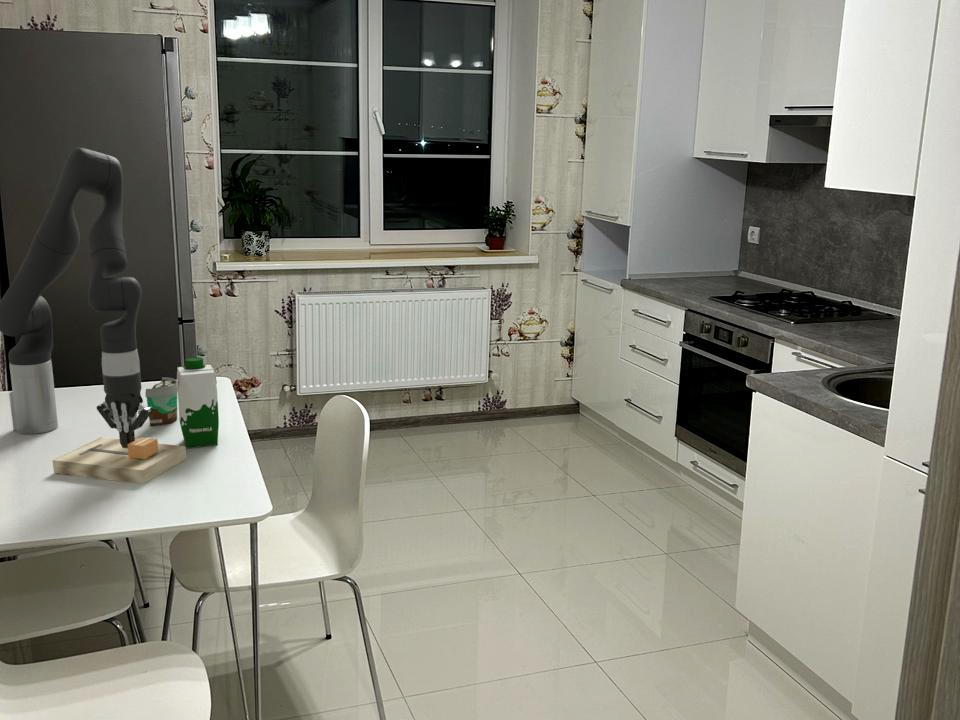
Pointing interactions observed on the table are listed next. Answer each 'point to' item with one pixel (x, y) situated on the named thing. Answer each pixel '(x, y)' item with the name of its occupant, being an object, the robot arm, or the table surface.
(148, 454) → the fader knob
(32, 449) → the table surface
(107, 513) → the table surface
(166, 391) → the food container
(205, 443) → the milk carton
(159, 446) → the fader console
